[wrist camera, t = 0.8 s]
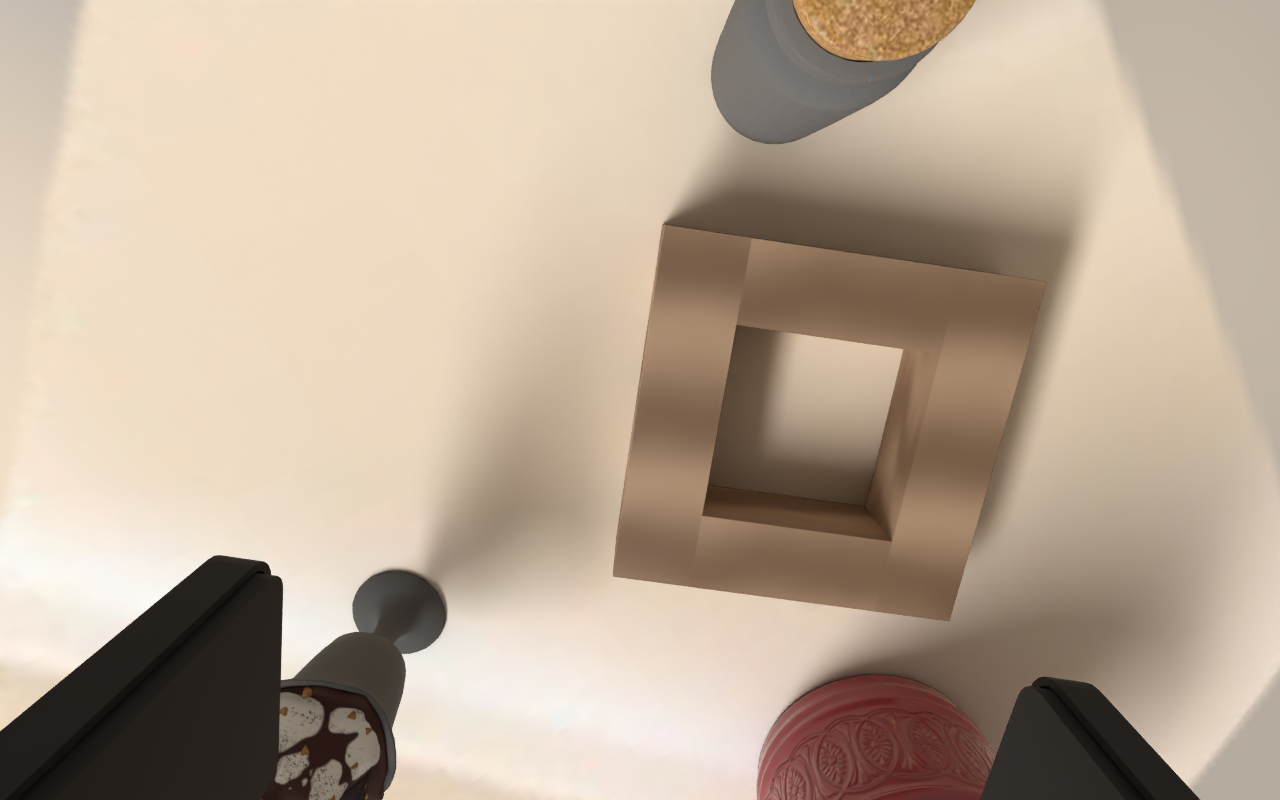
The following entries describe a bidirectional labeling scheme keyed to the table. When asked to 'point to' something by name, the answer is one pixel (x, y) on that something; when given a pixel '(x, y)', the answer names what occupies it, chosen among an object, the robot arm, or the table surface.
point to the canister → (874, 745)
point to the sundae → (354, 696)
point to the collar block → (911, 444)
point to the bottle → (819, 59)
